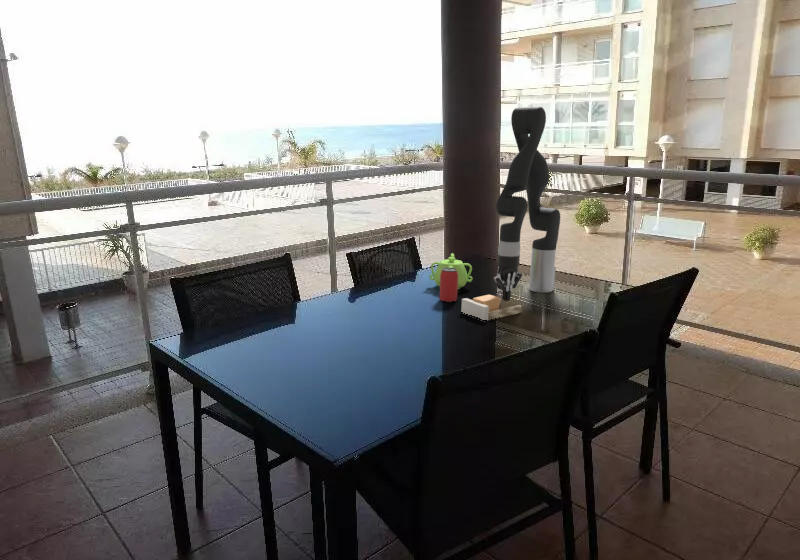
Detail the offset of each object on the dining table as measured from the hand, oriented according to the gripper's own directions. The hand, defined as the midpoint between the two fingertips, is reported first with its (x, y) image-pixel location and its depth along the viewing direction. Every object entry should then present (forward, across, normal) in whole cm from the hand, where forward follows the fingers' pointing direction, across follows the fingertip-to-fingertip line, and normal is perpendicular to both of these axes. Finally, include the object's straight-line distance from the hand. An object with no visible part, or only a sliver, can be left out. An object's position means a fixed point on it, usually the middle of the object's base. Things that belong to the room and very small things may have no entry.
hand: (506, 300), depth 208 cm
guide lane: (+3, +6, 0) cm, 7 cm away
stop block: (+3, +15, 0) cm, 16 cm away
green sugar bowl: (+4, -2, -34) cm, 34 cm away
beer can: (+3, +10, -20) cm, 22 cm away
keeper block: (+3, +10, 0) cm, 11 cm away
